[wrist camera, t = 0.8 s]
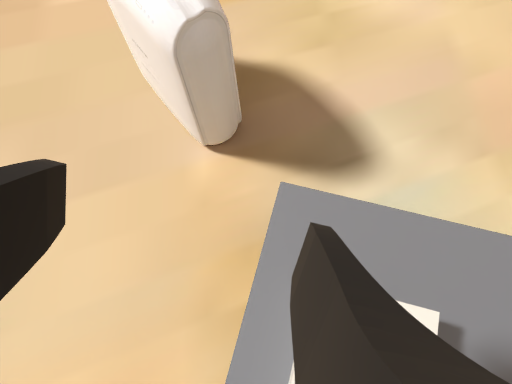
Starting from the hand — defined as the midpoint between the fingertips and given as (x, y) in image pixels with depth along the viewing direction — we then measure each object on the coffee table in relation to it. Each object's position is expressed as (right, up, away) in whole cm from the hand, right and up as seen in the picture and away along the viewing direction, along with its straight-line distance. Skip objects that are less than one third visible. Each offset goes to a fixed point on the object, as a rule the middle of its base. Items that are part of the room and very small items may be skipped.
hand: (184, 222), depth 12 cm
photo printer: (-3, +8, +20) cm, 22 cm away
